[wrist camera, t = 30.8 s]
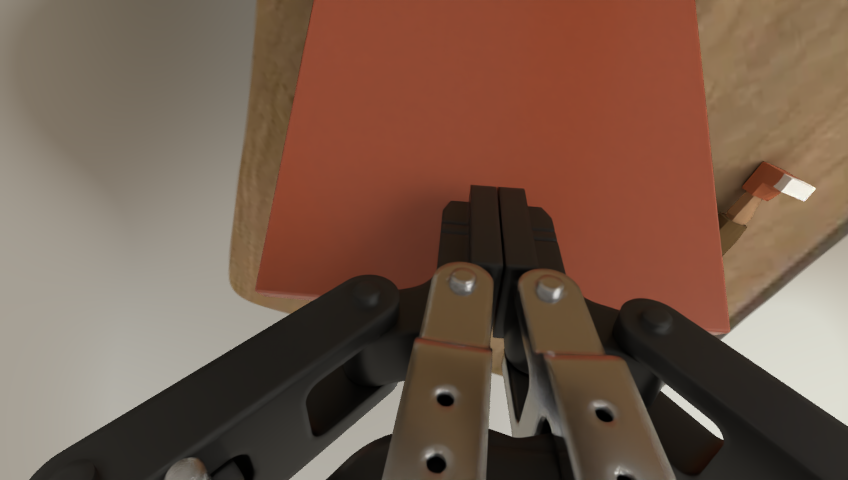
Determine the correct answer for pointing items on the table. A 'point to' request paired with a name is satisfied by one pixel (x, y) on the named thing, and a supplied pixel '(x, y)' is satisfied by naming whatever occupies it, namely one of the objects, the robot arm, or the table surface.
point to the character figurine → (758, 200)
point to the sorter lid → (501, 144)
